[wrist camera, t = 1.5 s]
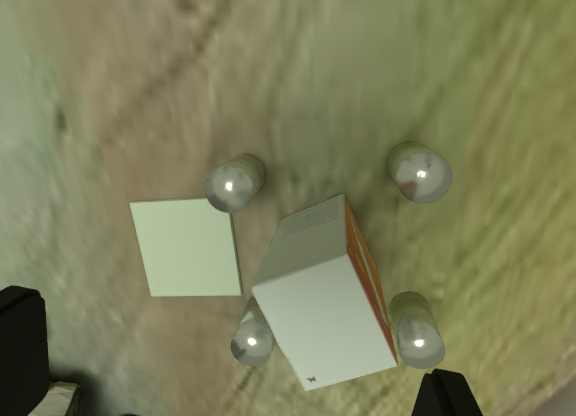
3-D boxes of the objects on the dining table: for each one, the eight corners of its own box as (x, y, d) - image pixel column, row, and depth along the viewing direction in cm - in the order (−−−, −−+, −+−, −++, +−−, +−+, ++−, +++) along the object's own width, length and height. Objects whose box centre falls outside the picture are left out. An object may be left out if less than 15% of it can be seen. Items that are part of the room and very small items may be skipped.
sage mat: (228, 195, 34) (226, 197, 33) (242, 291, 36) (240, 295, 36) (133, 201, 35) (129, 203, 34) (154, 293, 38) (151, 296, 37)
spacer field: (431, 139, 30) (453, 151, 24) (427, 324, 35) (444, 369, 29) (225, 155, 32) (200, 168, 27) (249, 324, 38) (233, 365, 32)
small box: (378, 268, 34) (401, 369, 22) (315, 289, 35) (303, 395, 23) (344, 190, 32) (348, 252, 20) (280, 216, 34) (246, 289, 21)
